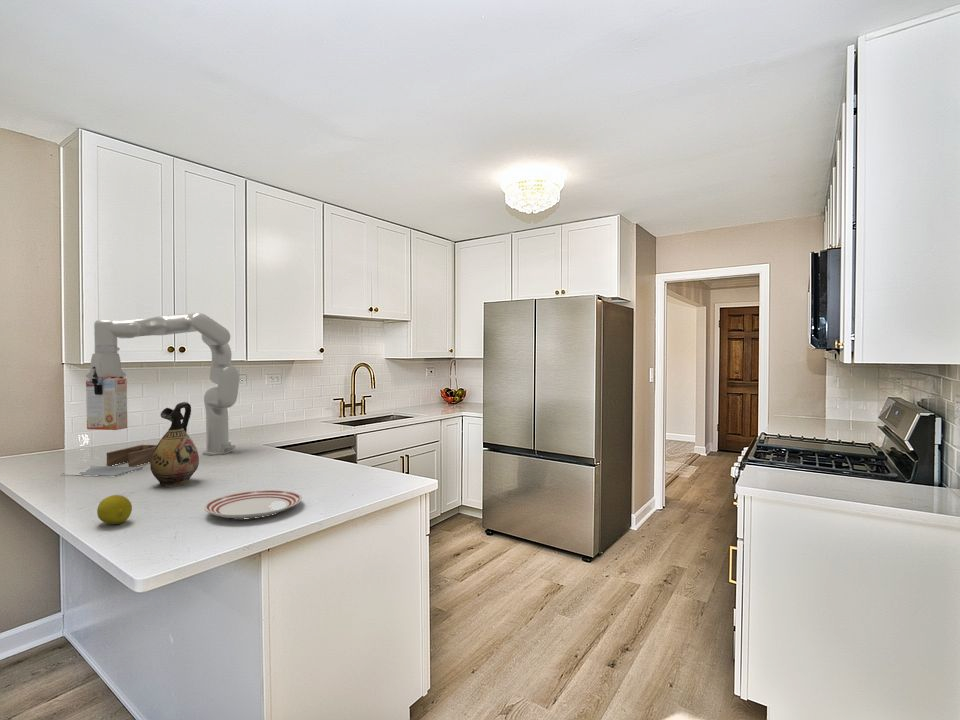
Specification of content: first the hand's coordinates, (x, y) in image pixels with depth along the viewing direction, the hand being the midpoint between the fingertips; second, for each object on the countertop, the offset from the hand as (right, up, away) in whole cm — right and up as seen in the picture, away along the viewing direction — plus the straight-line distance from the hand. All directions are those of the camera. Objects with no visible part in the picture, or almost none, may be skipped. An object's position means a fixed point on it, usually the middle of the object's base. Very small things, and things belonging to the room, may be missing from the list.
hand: (106, 393), depth 206 cm
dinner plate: (+84, -33, -52) cm, 104 cm away
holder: (+2, -31, +15) cm, 35 cm away
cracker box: (0, -15, 0) cm, 15 cm away
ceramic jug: (+41, -32, -20) cm, 56 cm away
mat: (0, -32, -2) cm, 32 cm away
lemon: (+49, -33, -63) cm, 86 cm away
